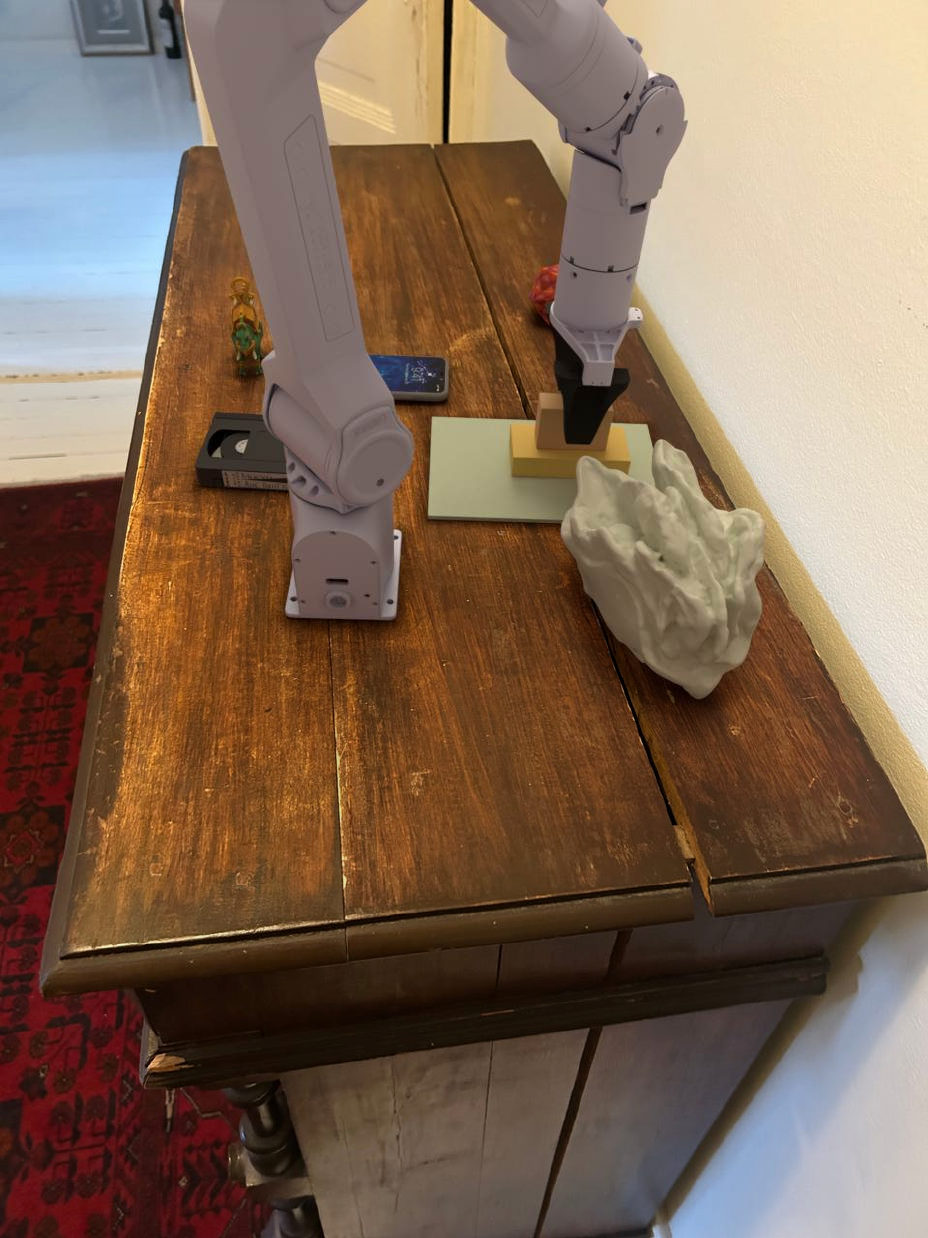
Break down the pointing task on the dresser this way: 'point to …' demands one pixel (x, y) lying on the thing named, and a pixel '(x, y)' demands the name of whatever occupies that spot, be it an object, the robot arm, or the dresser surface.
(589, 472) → the wavy plaster lump
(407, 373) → the smartphone
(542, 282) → the red bumpy ball
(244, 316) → the figurine
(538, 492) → the mat
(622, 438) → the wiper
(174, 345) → the dresser surface
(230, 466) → the vhs tape
